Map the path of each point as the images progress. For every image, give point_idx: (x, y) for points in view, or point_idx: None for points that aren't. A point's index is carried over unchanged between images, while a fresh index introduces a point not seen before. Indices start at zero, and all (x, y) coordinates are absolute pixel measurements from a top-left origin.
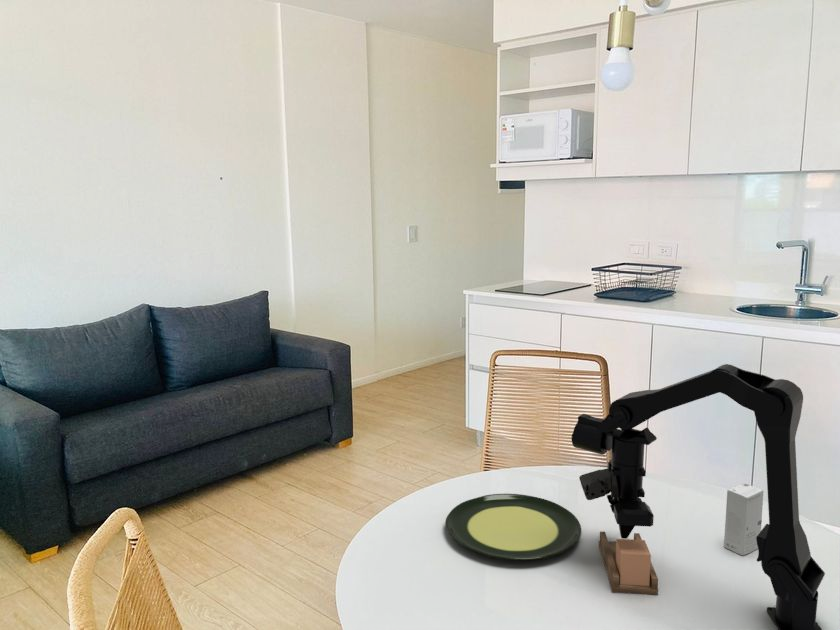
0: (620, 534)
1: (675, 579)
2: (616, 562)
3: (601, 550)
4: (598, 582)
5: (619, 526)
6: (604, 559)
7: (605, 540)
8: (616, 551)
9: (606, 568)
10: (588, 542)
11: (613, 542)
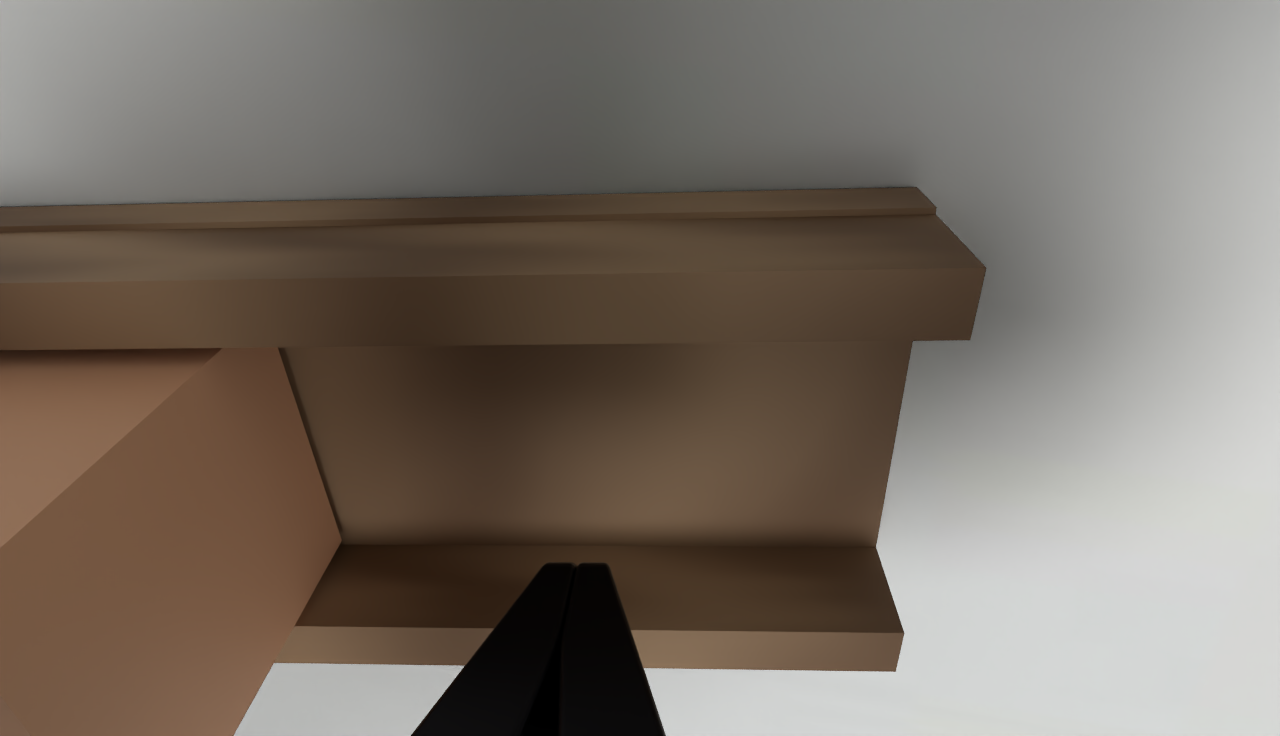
0: (588, 579)
1: (400, 671)
2: (135, 369)
3: (715, 206)
4: (67, 78)
5: (511, 704)
6: (466, 216)
7: (705, 312)
8: (65, 454)
9: (320, 211)
10: (1014, 52)
11: (886, 369)
